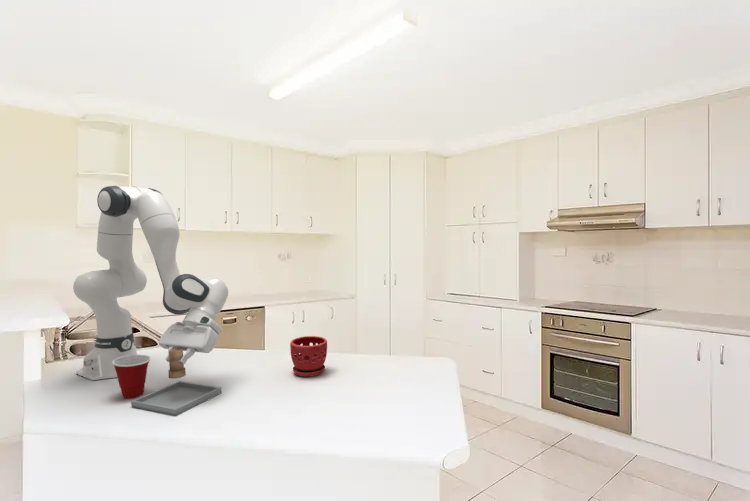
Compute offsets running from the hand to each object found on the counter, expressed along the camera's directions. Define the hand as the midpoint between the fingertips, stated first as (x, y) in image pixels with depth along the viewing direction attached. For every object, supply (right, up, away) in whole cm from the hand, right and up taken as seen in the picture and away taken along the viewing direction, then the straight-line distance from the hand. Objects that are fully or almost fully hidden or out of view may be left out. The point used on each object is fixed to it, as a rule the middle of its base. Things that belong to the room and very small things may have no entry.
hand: (174, 361), depth 133 cm
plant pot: (+38, -10, +23) cm, 46 cm away
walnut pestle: (0, -5, +1) cm, 5 cm away
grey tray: (0, -12, +1) cm, 12 cm away
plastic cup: (-16, -13, +6) cm, 21 cm away
